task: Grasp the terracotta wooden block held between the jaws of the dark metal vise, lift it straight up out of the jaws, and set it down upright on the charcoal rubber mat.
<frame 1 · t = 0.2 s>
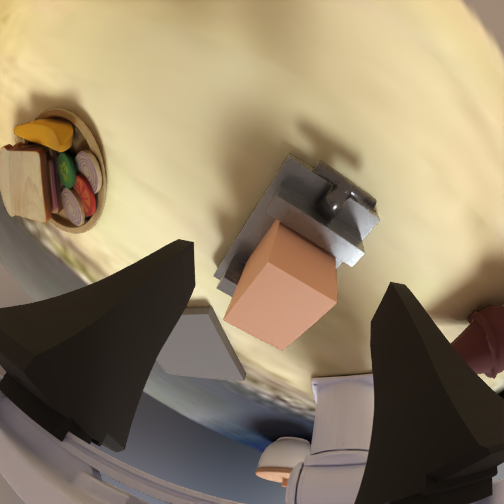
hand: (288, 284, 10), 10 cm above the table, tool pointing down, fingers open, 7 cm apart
lidded jar: (293, 440, 42), on the table
toy sandwich meal: (64, 171, 21), on the table
mat: (186, 343, 30), on the table
block: (289, 251, 19), point 1 cm above the table, touching vise
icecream: (476, 317, 20), on the table
vise: (290, 243, 20), on the table
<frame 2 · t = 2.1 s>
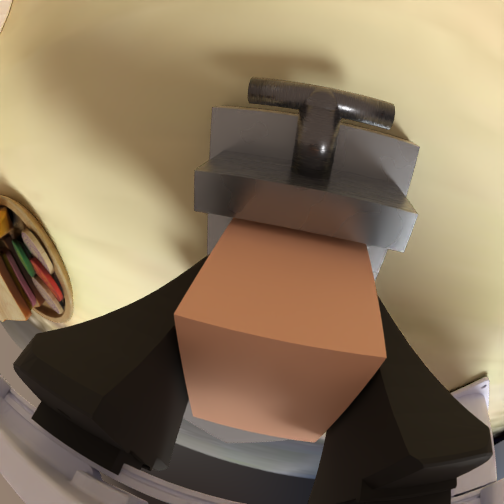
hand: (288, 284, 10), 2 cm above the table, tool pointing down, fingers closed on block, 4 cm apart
toy sandwich meal: (31, 260, 18), on the table
mat: (230, 410, 22), on the table
block: (292, 262, 11), point 1 cm above the table, touching gripper, vise
vise: (294, 249, 12), on the table
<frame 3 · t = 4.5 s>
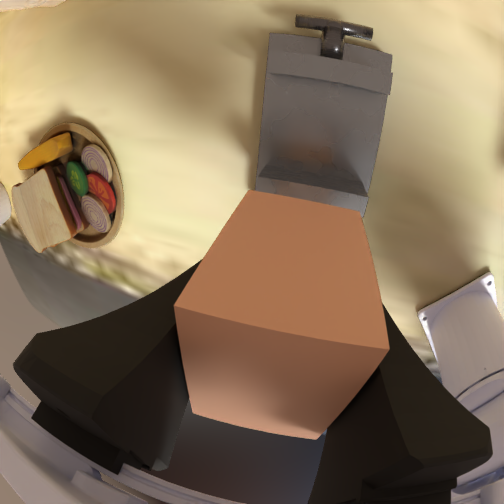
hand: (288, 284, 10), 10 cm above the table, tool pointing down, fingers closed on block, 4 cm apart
coffee cup: (2, 199, 26), on the table
toy sandwich meal: (79, 188, 22), on the table
block: (293, 258, 11), point 8 cm above the table, touching gripper
vise: (321, 126, 15), on the table
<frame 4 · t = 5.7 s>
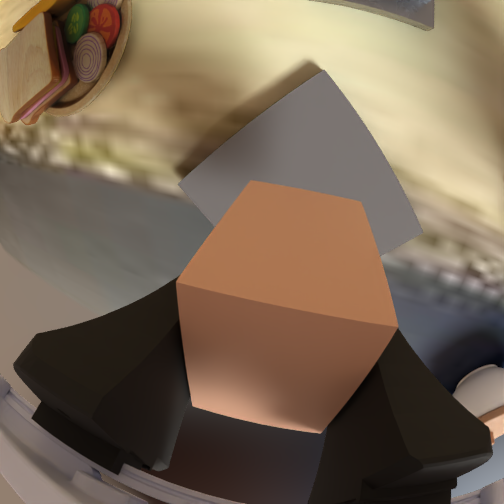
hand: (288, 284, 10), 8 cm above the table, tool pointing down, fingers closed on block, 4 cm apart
lidded jar: (477, 378, 22), on the table
toy sandwich meal: (74, 48, 14), on the table
mat: (303, 198, 17), on the table
block: (294, 250, 11), point 7 cm above the table, touching gripper
when the fingers open (4 cm above the table, at t = 6.8 s): block drops 1 cm, resting on mat.
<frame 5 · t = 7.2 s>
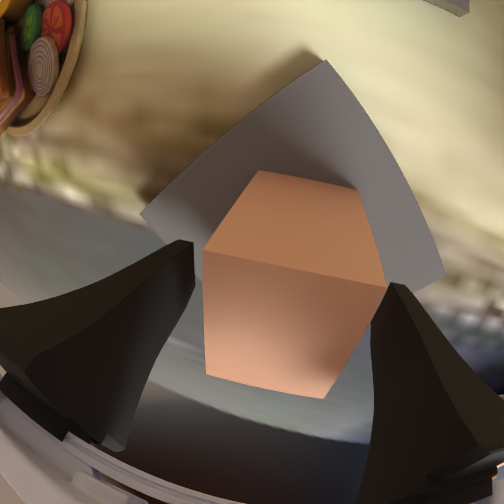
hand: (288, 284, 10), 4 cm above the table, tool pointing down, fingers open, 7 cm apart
toy sandwich meal: (33, 56, 10), on the table
mat: (297, 232, 13), on the table
block: (297, 233, 12), point 1 cm above the table, touching mat
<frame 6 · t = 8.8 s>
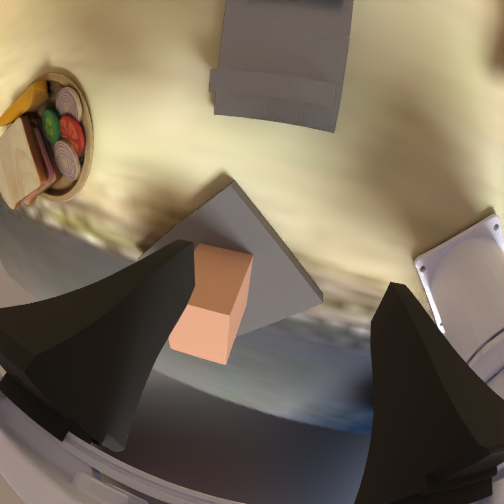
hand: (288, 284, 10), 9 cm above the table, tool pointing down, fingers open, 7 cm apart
toy sandwich meal: (55, 141, 20), on the table
mat: (227, 273, 22), on the table
block: (224, 276, 21), point 1 cm above the table, touching mat
vise: (286, 35, 12), on the table
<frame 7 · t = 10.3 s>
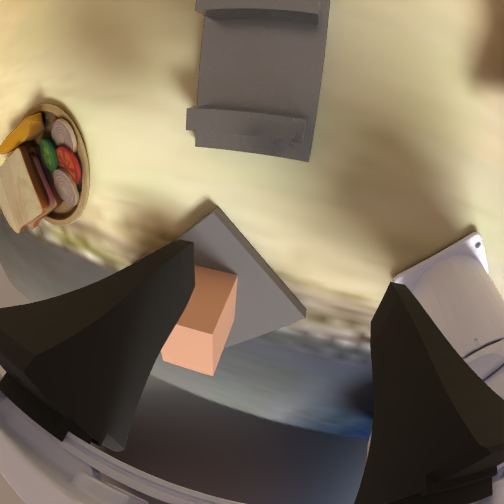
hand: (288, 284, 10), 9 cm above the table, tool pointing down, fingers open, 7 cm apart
toy sandwich meal: (53, 168, 21), on the table
mat: (215, 290, 24), on the table
block: (212, 293, 23), point 1 cm above the table, touching mat
vise: (262, 64, 14), on the table
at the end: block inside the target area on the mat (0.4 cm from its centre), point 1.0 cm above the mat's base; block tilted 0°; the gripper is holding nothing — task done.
